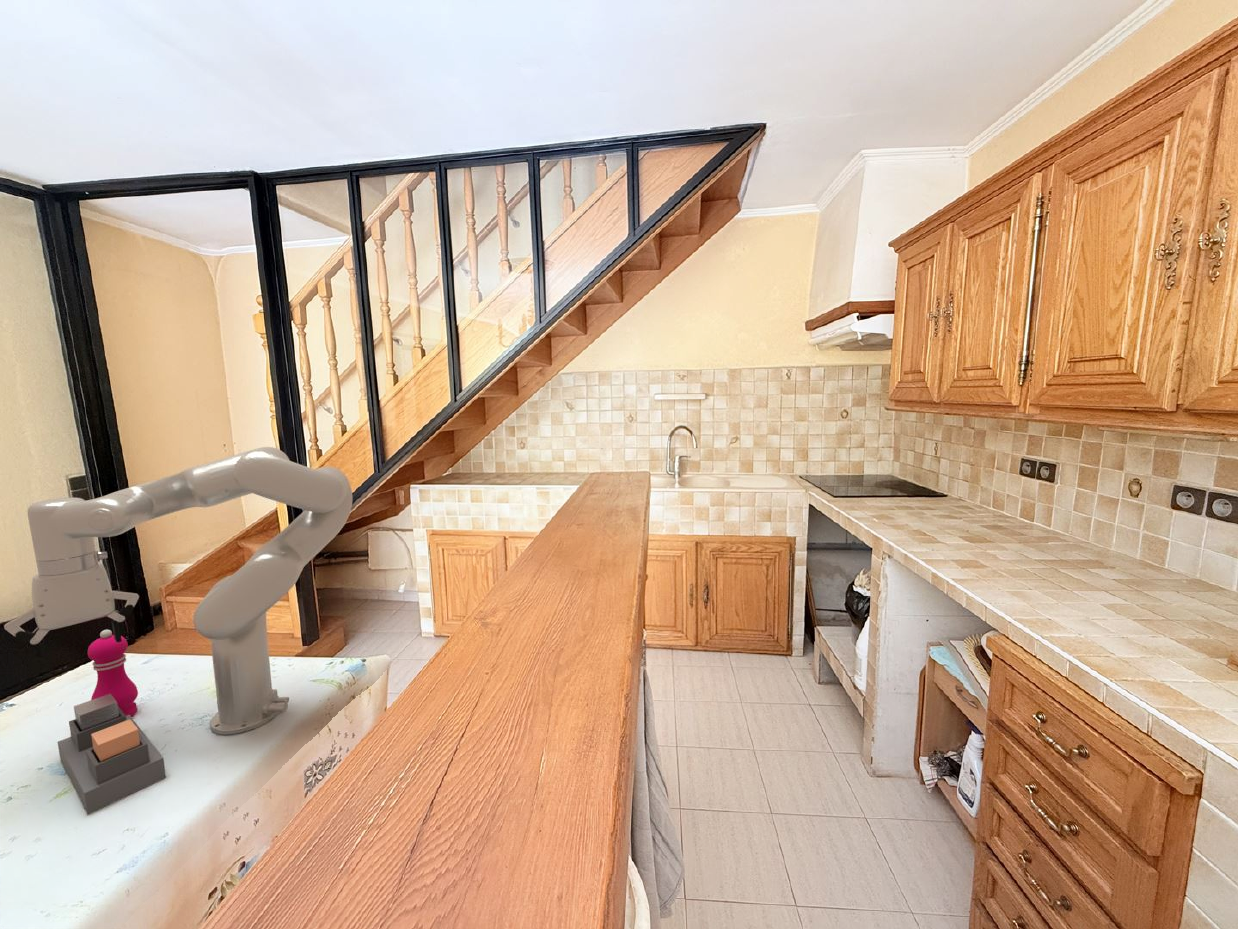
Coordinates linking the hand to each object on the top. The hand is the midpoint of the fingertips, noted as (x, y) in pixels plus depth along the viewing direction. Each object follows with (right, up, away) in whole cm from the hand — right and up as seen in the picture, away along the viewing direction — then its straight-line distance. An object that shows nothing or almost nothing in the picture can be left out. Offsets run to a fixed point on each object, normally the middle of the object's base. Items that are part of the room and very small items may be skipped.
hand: (83, 650), depth 96 cm
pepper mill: (-6, -20, +13) cm, 24 cm away
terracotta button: (+14, -15, -7) cm, 21 cm away
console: (+8, -21, -2) cm, 23 cm away
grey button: (+2, -13, +1) cm, 14 cm away
